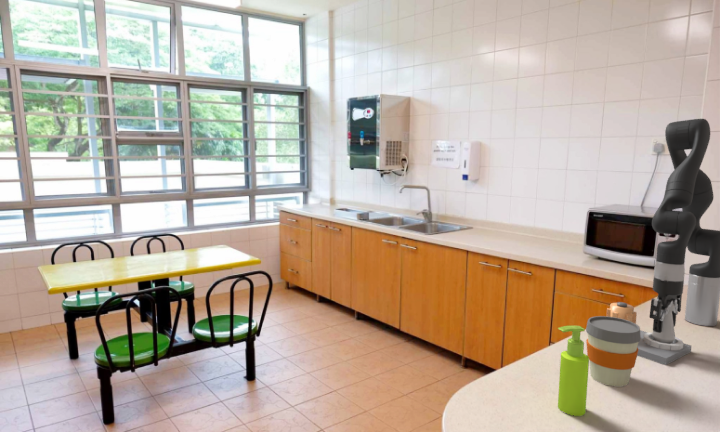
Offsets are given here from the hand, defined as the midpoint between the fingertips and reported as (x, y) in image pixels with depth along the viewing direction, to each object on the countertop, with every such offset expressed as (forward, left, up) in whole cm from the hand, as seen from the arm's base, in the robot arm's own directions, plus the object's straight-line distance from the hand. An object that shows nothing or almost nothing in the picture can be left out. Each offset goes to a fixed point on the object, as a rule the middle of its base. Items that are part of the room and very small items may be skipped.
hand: (664, 329), depth 138 cm
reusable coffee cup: (+32, +1, -7) cm, 32 cm away
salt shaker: (0, 0, -5) cm, 5 cm away
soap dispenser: (+54, +4, -7) cm, 55 cm away
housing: (+3, -5, -7) cm, 9 cm away
